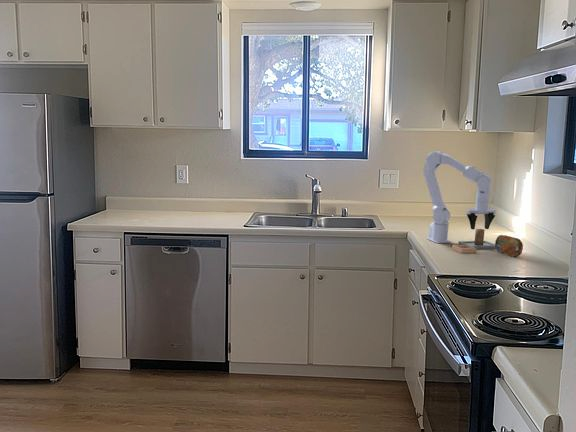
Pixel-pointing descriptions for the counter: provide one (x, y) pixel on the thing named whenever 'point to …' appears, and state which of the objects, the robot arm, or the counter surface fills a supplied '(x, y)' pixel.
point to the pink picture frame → (464, 248)
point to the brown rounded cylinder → (479, 237)
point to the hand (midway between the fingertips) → (479, 229)
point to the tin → (509, 245)
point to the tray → (485, 246)
